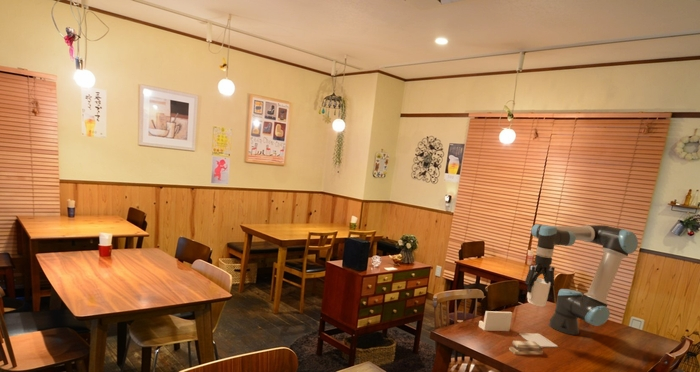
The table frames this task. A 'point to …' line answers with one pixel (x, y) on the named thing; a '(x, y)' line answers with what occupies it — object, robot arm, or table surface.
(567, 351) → the table surface
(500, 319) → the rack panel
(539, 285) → the candle holder
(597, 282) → the robot arm
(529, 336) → the felt pad
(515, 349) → the offcut stack
